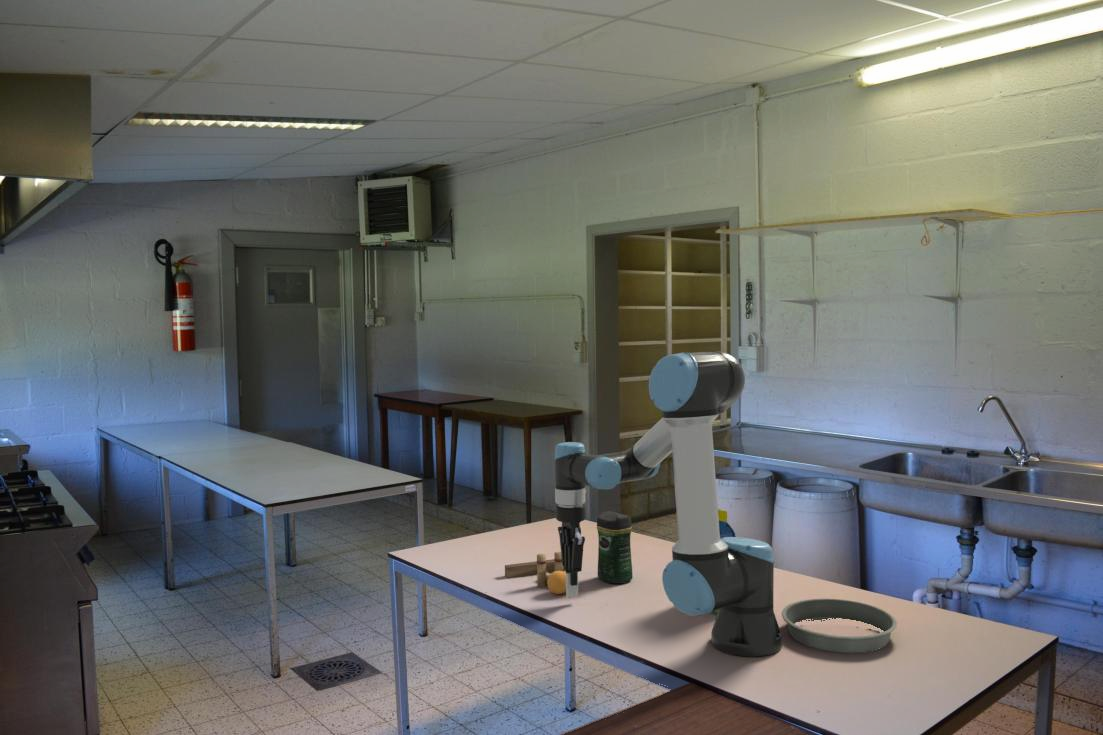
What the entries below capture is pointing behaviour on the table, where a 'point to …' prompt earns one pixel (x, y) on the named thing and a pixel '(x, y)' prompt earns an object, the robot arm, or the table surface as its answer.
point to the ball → (557, 582)
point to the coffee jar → (614, 547)
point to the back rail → (527, 568)
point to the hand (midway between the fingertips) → (572, 596)
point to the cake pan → (844, 610)
